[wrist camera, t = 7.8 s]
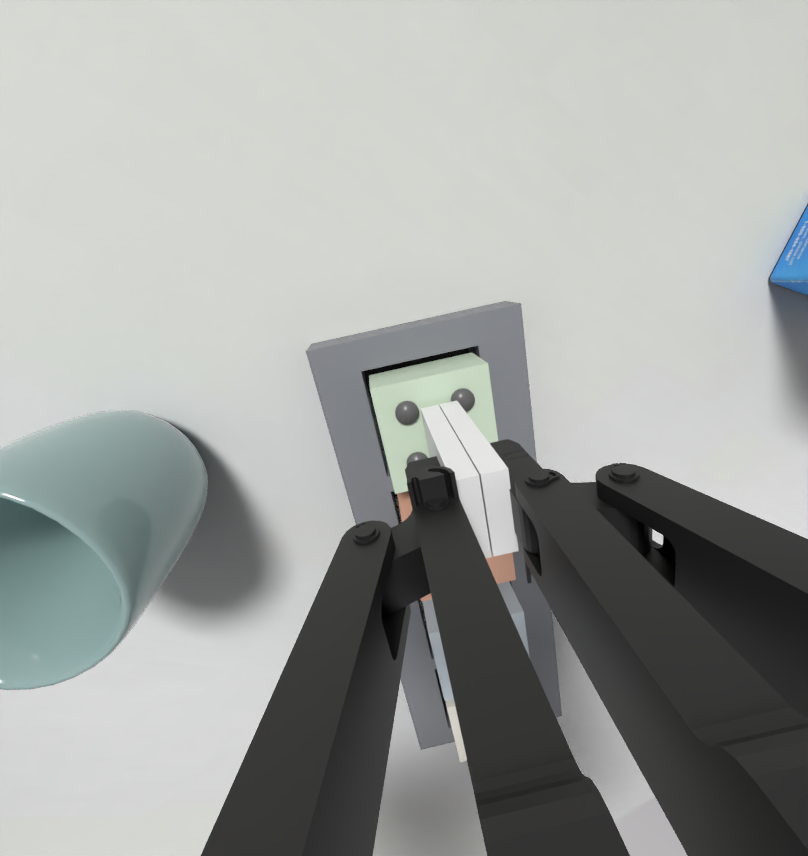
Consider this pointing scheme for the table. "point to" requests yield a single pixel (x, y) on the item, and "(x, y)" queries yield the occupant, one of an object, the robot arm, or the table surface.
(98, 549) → the cup
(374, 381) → the tile
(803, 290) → the ink box
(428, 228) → the table surface
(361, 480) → the board
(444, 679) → the tile
